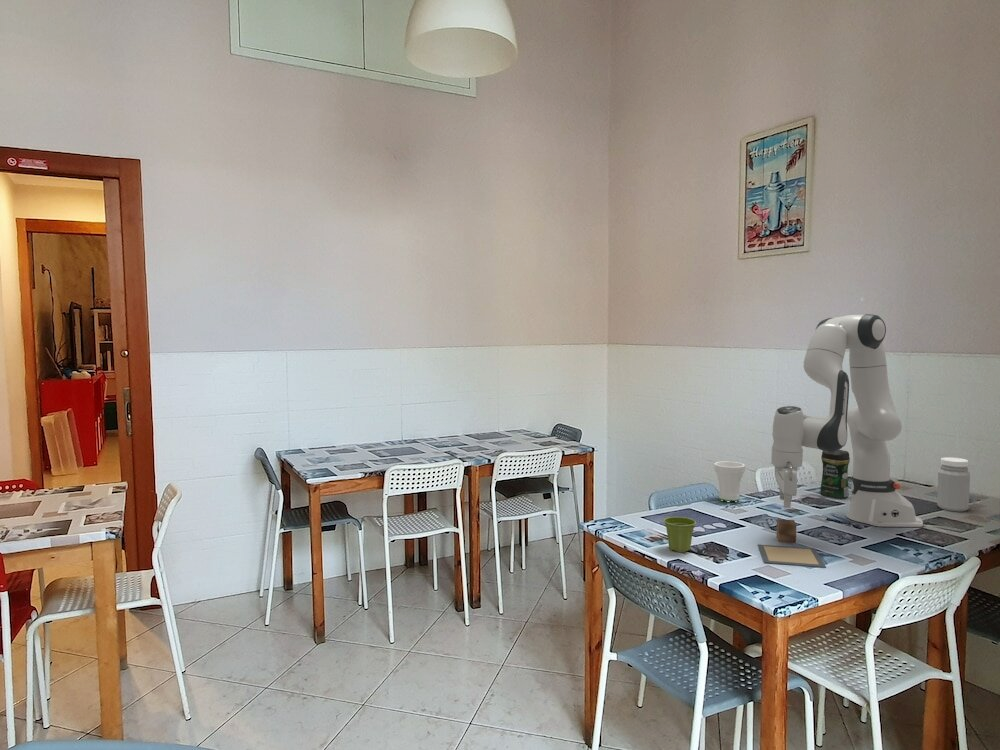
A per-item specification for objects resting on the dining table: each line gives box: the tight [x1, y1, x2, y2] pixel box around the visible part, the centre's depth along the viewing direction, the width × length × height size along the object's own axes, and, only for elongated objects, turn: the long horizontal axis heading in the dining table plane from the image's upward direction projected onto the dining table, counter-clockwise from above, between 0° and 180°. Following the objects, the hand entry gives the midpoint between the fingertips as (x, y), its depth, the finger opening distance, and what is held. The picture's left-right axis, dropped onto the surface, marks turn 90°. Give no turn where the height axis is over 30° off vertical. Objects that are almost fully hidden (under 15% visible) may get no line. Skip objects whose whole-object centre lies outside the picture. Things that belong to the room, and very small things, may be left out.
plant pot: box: [663, 516, 697, 553], centre depth 201 cm, size 9×9×9 cm
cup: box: [713, 460, 746, 502], centre depth 256 cm, size 11×11×14 cm
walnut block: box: [776, 518, 798, 545], centre depth 208 cm, size 5×5×6 cm
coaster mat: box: [757, 543, 827, 569], centre depth 194 cm, size 16×16×1 cm
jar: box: [936, 456, 971, 513], centre depth 241 cm, size 10×10×18 cm
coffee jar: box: [819, 449, 851, 499], centre depth 260 cm, size 10×8×19 cm
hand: (784, 503), depth 207 cm, fingers open, 8 cm apart
